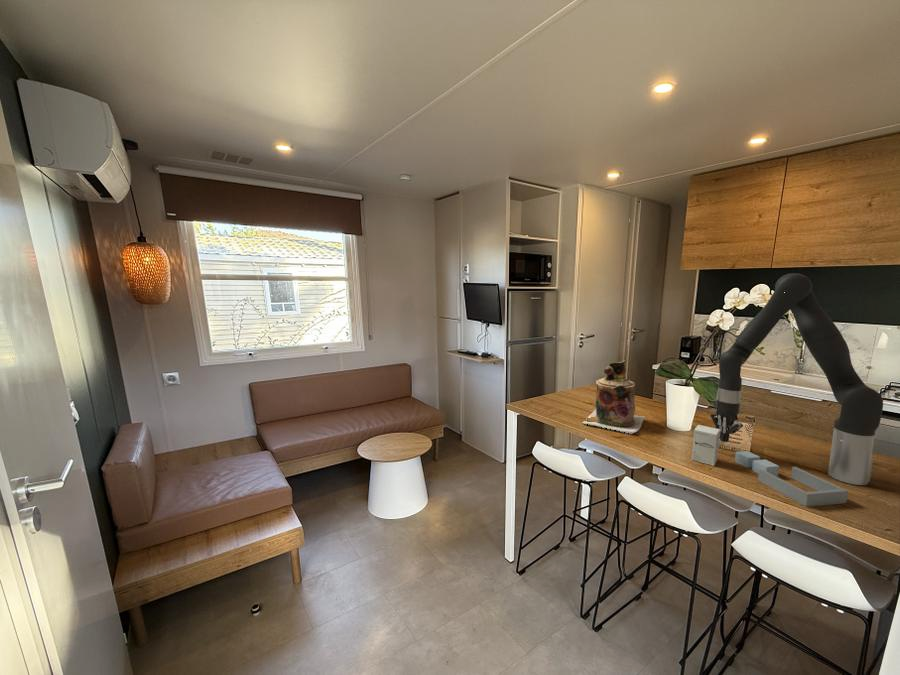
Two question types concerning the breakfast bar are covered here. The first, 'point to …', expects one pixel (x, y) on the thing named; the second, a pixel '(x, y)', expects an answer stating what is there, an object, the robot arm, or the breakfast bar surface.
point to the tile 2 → (765, 467)
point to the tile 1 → (746, 458)
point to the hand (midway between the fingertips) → (723, 441)
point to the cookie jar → (615, 401)
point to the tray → (822, 496)
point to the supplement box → (705, 444)
